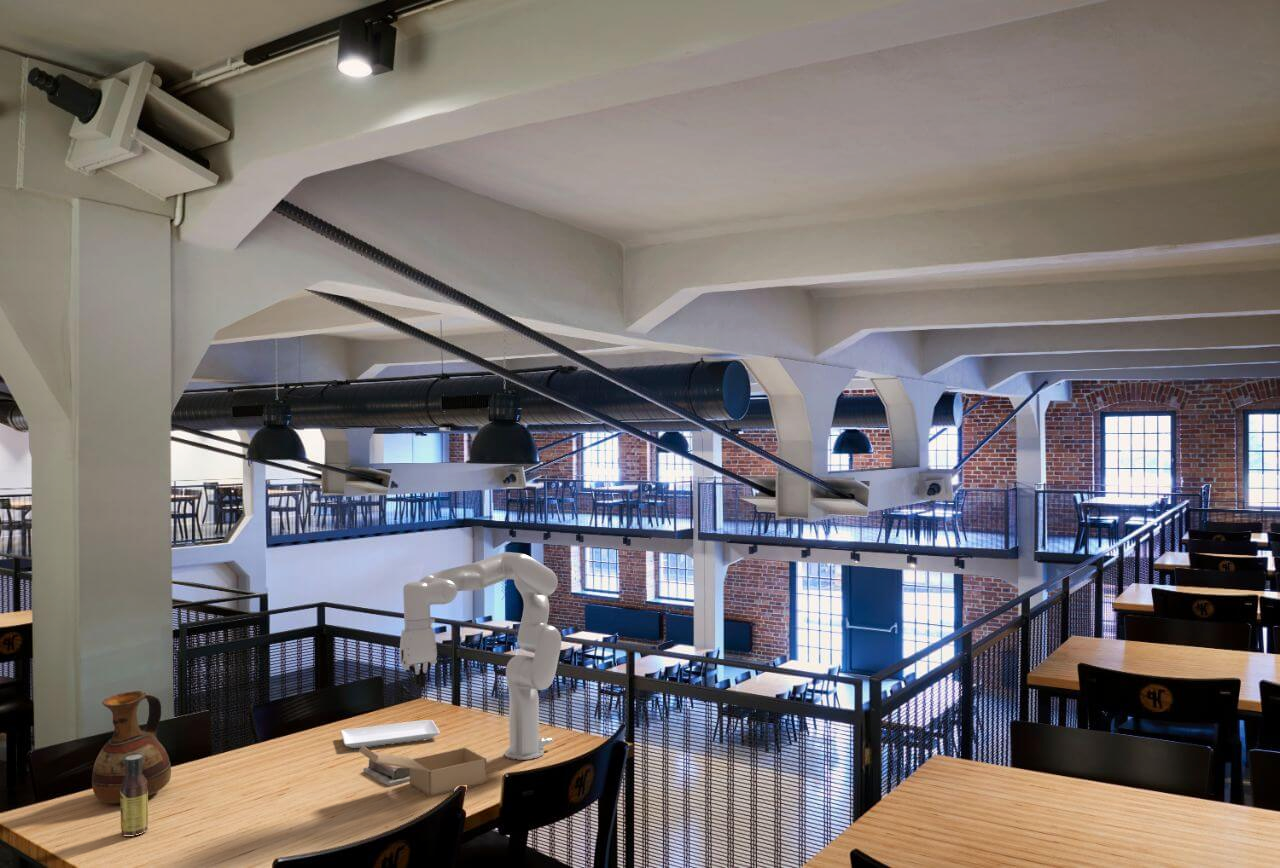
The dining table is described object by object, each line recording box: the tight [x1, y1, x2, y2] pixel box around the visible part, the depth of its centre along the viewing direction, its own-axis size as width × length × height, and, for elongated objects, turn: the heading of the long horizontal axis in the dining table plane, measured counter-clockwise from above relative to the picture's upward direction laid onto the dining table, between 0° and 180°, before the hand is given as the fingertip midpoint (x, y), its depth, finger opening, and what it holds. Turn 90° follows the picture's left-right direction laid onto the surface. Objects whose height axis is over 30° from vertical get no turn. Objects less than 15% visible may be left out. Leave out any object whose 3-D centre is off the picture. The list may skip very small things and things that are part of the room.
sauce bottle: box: [120, 755, 149, 836], centre depth 241 cm, size 7×6×20 cm
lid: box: [358, 745, 427, 770], centre depth 265 cm, size 16×14×2 cm
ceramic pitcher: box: [91, 690, 172, 804], centre depth 269 cm, size 20×20×30 cm
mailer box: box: [409, 747, 488, 798], centre depth 275 cm, size 18×14×7 cm
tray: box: [340, 719, 441, 750], centre depth 319 cm, size 17×32×4 cm, turn 112°
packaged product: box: [363, 758, 410, 787], centre depth 283 cm, size 18×5×10 cm
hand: (420, 686), depth 274 cm, fingers closed
